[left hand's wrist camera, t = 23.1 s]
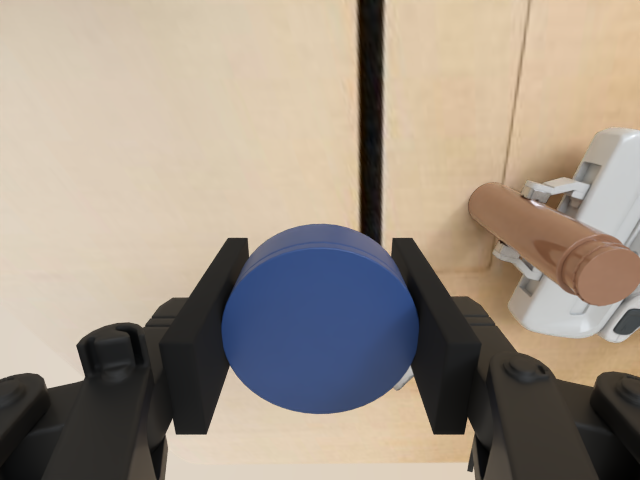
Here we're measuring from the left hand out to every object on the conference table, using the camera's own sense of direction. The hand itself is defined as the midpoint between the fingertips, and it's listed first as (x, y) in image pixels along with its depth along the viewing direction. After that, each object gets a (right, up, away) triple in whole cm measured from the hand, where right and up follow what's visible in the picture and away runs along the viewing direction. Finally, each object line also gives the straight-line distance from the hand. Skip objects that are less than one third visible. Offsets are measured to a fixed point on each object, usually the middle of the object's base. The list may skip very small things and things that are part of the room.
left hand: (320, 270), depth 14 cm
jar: (+19, +5, +26) cm, 32 cm away
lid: (0, -1, -4) cm, 4 cm away
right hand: (+18, +3, +20) cm, 27 cm away
